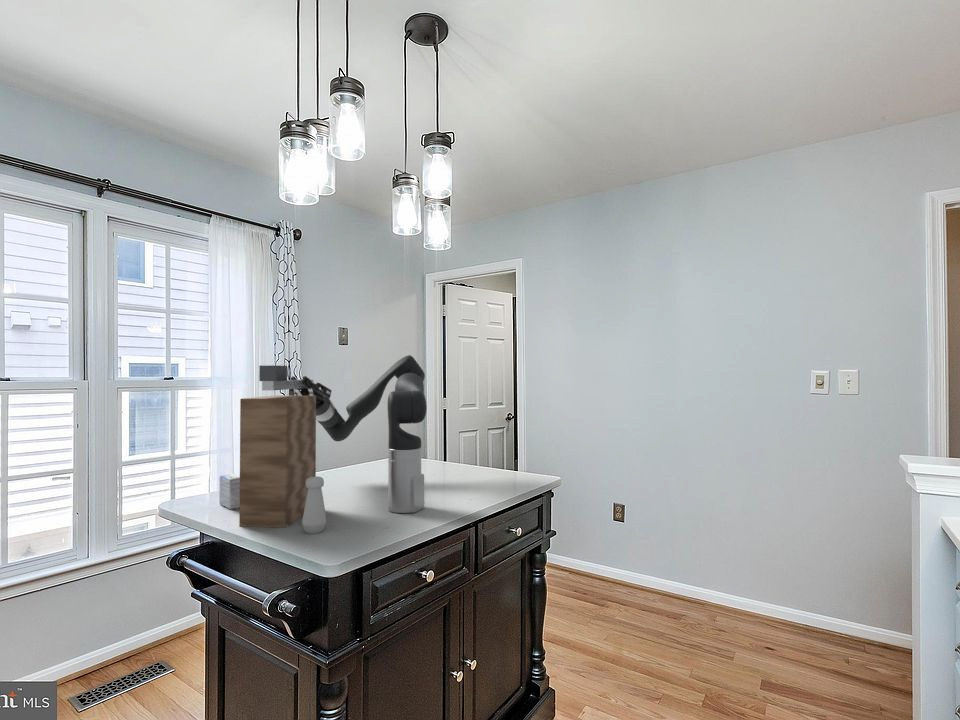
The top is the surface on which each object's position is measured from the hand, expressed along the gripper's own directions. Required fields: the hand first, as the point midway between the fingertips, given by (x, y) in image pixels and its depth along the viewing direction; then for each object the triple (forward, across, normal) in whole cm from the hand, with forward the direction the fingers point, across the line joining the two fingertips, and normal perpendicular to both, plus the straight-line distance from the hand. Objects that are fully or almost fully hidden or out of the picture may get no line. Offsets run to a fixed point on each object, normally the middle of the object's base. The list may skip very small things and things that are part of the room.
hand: (298, 379), depth 148 cm
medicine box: (-18, -19, +32) cm, 42 cm away
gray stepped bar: (+3, 0, +5) cm, 6 cm away
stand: (-9, 0, +37) cm, 38 cm away
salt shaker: (0, +15, +43) cm, 45 cm away
